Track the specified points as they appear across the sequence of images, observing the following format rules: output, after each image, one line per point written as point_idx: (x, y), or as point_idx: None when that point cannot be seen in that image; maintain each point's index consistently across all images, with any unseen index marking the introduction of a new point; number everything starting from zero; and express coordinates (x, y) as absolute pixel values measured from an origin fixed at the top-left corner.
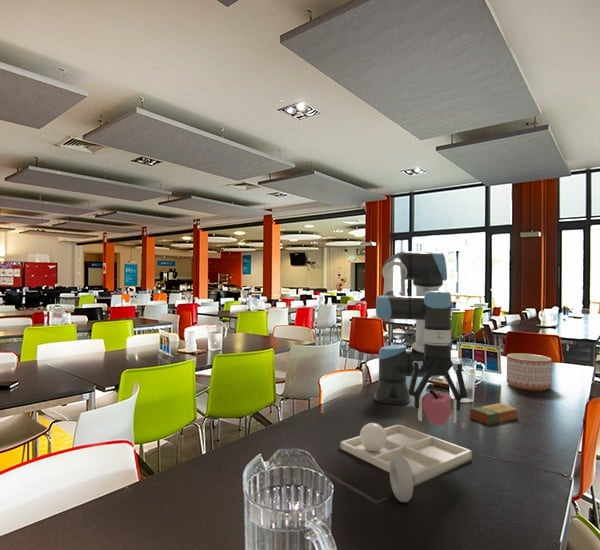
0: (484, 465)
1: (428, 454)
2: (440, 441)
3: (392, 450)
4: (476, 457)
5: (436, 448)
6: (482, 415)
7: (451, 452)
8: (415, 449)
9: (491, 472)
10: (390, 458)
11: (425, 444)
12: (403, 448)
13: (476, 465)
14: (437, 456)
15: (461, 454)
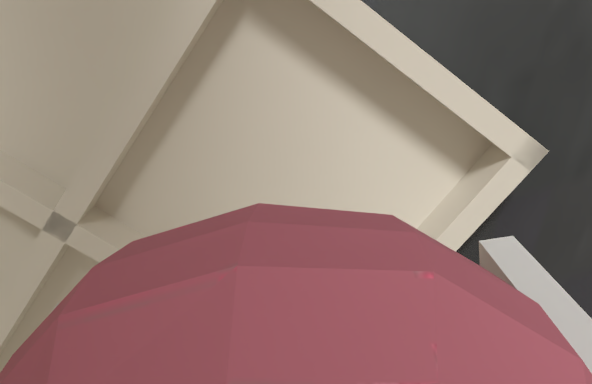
0: (576, 203)
1: (236, 189)
2: (324, 11)
3: (2, 321)
4: (561, 90)
5: (290, 57)
6: None
7: (396, 102)
8: (140, 132)
9: (586, 281)
10: (19, 323)
11: (203, 29)
12: (61, 250)
13: (525, 218)
14: (295, 202)
15: (455, 245)
